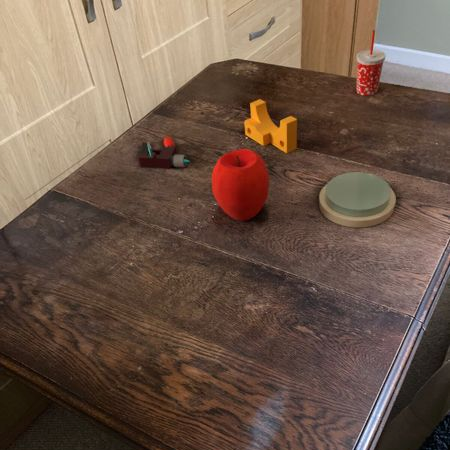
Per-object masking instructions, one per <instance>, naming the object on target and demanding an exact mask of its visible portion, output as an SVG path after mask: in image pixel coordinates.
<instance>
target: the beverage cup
mask: <svg viewBox="0 0 450 450" xmlns="http://www.w3.org/2000/svg"><path fill="white" fill-rule="evenodd" d="M375 34H376V30H374V29H373V30H372V34H371V41H370V49H366V50H361V51H360V52H358V53H357V54H356V62H357V63H356V85H355V86H356V89H355V91H356V93H357V94H358V95H360V96H372V95H375V94H377V93H378V91H379V86H380V81H381V76H382V71H383V65H384V62H385V60H386V53H385V52H384V51H381V50H379V49H374V42H375Z"/></svg>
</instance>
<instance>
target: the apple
mask: <svg viewBox="0 0 450 450" xmlns="http://www.w3.org/2000/svg"><path fill="white" fill-rule="evenodd" d="M266 166H267V165H266V163H265V161H264V160H263V157H262V156H261V155H260V154H258V153H257V152H255V151H253V150H250V149H248V148H241V149H236V150H233V151H229V152H227V153H224V154H223V155H222V156H221V157H219V158H218V160H217V162H216V164H215V165H214V168H213V170H212V174H211V187H212V194H213V197H214V199H215V200H216V202H217V205H218V206H219V207H220V209H222V210H223V212H224V213H225V214H226V215H228V216H229V217H230V218H232V219H234V220H236V221H240V222H244V221H249V220H251V219H253V218H254V217H255V216H257V214H258V213H259V212H260V211H262V208H263V207H264V206H265V204H266V201H267V199H268V196H269V188H270V177H269V173H268V169H267V167H266Z"/></svg>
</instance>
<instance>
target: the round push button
mask: <svg viewBox="0 0 450 450" xmlns="http://www.w3.org/2000/svg"><path fill="white" fill-rule="evenodd" d="M318 196H319V197H318V207H319V210H320V212H321V214H322V215H323V216H324V217H325V218H326V219H327V220H328V221H330V222H332V223H334V224H337V225H339V226H342V227H343V226H344V227H347V228H357V229H358V228H369V227H370V228H371V227H374V226H377V225H380V224H382V223H384V222H386V221H387V220H388V219H389V218H390V217H391V216H392V215H393V213H394V212H395V208H396V207H395V206H396V201H397V199H396V197H397V196H396V194H395V192H394V190H393V189H392V188H391V185H390V184H389V183H388V182H387V181H386V180H385V179H384V178H381V176H378V175H376V174H374V173H369V172H362V171H352V172H345V173H342V174H338V175H336V176H334V177H333V178H331V179H330V180H329V181H328V182H327V184H325V185H324V186H323V187H322V189H321V190H320V192H319V195H318Z"/></svg>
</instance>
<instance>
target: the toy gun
mask: <svg viewBox="0 0 450 450" xmlns="http://www.w3.org/2000/svg"><path fill="white" fill-rule="evenodd" d="M140 144H141V146H140V151H139V152H138V153H137V154H136V159H137V163H138V165H139V167H142V168H143V167H144V168H162V169H171V168H172V167H174V168H186V167H187V165H188V164H187V163H190V162H191V161H190V160H189V159H188V158H187V154H178V150H177V145H175V142H174V139H173V138H172V137H171V136H167V137H165V138H164V140H163V145H164V149H163V148H162V149H160V148H157V149H156V148H152V144H151V143H150V141H147V142H141V143H140Z"/></svg>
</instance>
